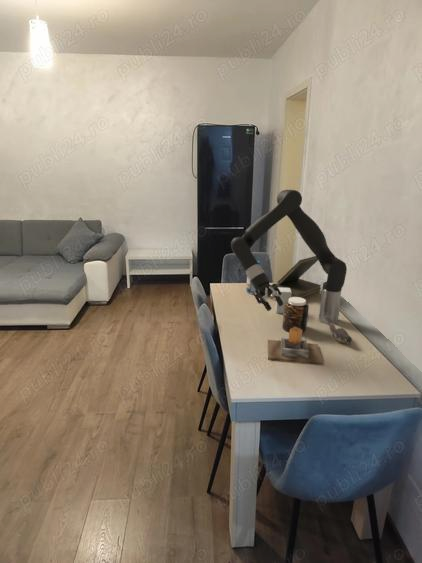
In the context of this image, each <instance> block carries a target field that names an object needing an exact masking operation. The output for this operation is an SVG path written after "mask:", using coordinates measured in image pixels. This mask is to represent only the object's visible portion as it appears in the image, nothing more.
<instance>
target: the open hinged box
mask: <svg viewBox="0 0 422 563" xmlns="http://www.w3.org/2000/svg"><path fill="white" fill-rule="evenodd" d="M317 262H319V260H318V258H317V257H316V255H313V256H310V257H307V258H304V259H299V260H298V261H297V263H295V265H293V266H292V267H290V269H289V270H288V271H287V272H286V274H284V275H283V276H282V277H281V278H280V279H279V280H278V281H277V282H276V283H275V284H276V286H277V287H281V288H290V290H291V292H292V293H291V297H300V298H303V299H305V300H307V299H310V298H313V297H316V296H318V295H320V292H321V290H322V289H321V288H322V287H321V286H322V284H319V283H315V282H312V281H308V280H305V279H301V277H302V276H303V275H304V274H305V273H306V272H308V270H309V269H311V268H312V267H313V265H315V263H317ZM272 293H273V292H272Z"/></svg>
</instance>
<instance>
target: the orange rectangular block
mask: <svg viewBox="0 0 422 563" xmlns="http://www.w3.org/2000/svg"><path fill="white" fill-rule="evenodd" d="M288 333H289V334H288V338H289V341H288V342H289V344H288V348H290V349H300V344H301V339H303V338H302V336H303V332H302V329H300V328H297V327H293V328H291V329H290V331H289V332H288Z"/></svg>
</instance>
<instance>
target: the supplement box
mask: <svg viewBox="0 0 422 563" xmlns="http://www.w3.org/2000/svg"><path fill="white" fill-rule="evenodd" d="M278 289H279V290H280V292H281V293H282V294H281V295H280V298H281V300H282V301H283V305H282V306H279V305H278V303H277V301H276V300H275V314H284V306H285V303H286V302H287V301H288V300H289V298H291V293H292V292H291V290H290V288H281V287H278ZM277 293H278V292H277Z"/></svg>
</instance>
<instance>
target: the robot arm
mask: <svg viewBox="0 0 422 563" xmlns="http://www.w3.org/2000/svg"><path fill="white" fill-rule="evenodd" d="M302 201H303V196H302V194H301V193H300V192H299V191H298V190H295V189H283V190H281V191H279V192H278V194H277V197H276V202H277V205H276V206H274V208H273V209H271V210H269V211H268V212H267V213H265V214H264V215H262V216H260V217H259V218H258V219H256V220H254V222H253V223H252V224H250V226H248V227H247V228H246V230H245V232H244V233H243V235H242V236H237V237H233V239H232V240H231V241H230V247H231V250H232V253H233V254H235V256H236V257H237V259H238V260H239V264H240V265H241V266H242V269H243V270H244V272H245V274H246V277H247V276H248V278H249V280H250V282H251V283H252V285H253V287H254V288H255V289H256V290H255V291H254V292H253V294H252V295H253V296H254V298H255V300H256V302H257V303H258V304H259V305H260V304H261V305H263V306H264V308H265V310H267V312H269V311H271V310H273V308H272V306H271V305H270V303H269V301H268V297H271V298H274V299H275V302H276V301H277V303H278V305H279V306H282V305H283V301H282V300H281V298H280V295H281V294H282V293H281V292H280V290H279V289H278V287H277V286H276V283H275V282H274V283H272V284H270V279H269V277H268V276H267V274H266V273H265V271H264V269H263V267H262V266H261V264H260V265H259V263H258V262H257V261H258V260H257V259H256V257H255V256H254V255H253V253H252V250H251V248H252V247H253V246H254V244H255V243H256V242H257V241H258V240H259V239H260V238H261V237H263V236H264V235H265V234H266V233H267V232H268V231H269V230H270V229H272V227H273V226H276V224H277V223H279V221H281V220H282V219H284V218H285V217H286V216H287V218H288V219H290V221H291V223H292V224H293V226H294V228H295V229H296V231H297V232H298V234H299V235H300V237H301V239H302V240H303V242H304V243H305V244H306V246H307V247H308V248H309V249H310V251H311V252H312V253H313V254H314V256H316V257H317V258H318V262H319V264H320V266H321V268H322V270H323V271H324V273H325V274H327V276H326V278H327V279H326V281H324V282H323V283H322V287H321V288H322V289H321V298H320V304H319V312H318V320H319V322H321V323H323V324H327V325H328V322H327V320H326V319H325V318H324V317H328V318H330V319H331V320H332V321H333V323H335V324H338V322H339V316H340V311H341V310H340V309H341V305H340V304H341V303H340V302H341V295H342V289H343V287H344V285H345V281H346V275H347V269H348V268H347V264H346V263H345V261H343V260H342V259H340V258H338V257H336V255H335V254H334V253H333V252H332V251H331V249H330V248H329V246H328V244H327V243H328V242H327V240H326V236H325V234H324V232H323V231H322V230H321V228H320V226H319V225H318V224H317V222H315V220H314V219H312V217H310V216H309V215H308V214H307V213H306V212H305V211H303V209H302V207H301V205H302ZM272 292H273V293H272ZM277 292H278V293H277Z"/></svg>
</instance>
